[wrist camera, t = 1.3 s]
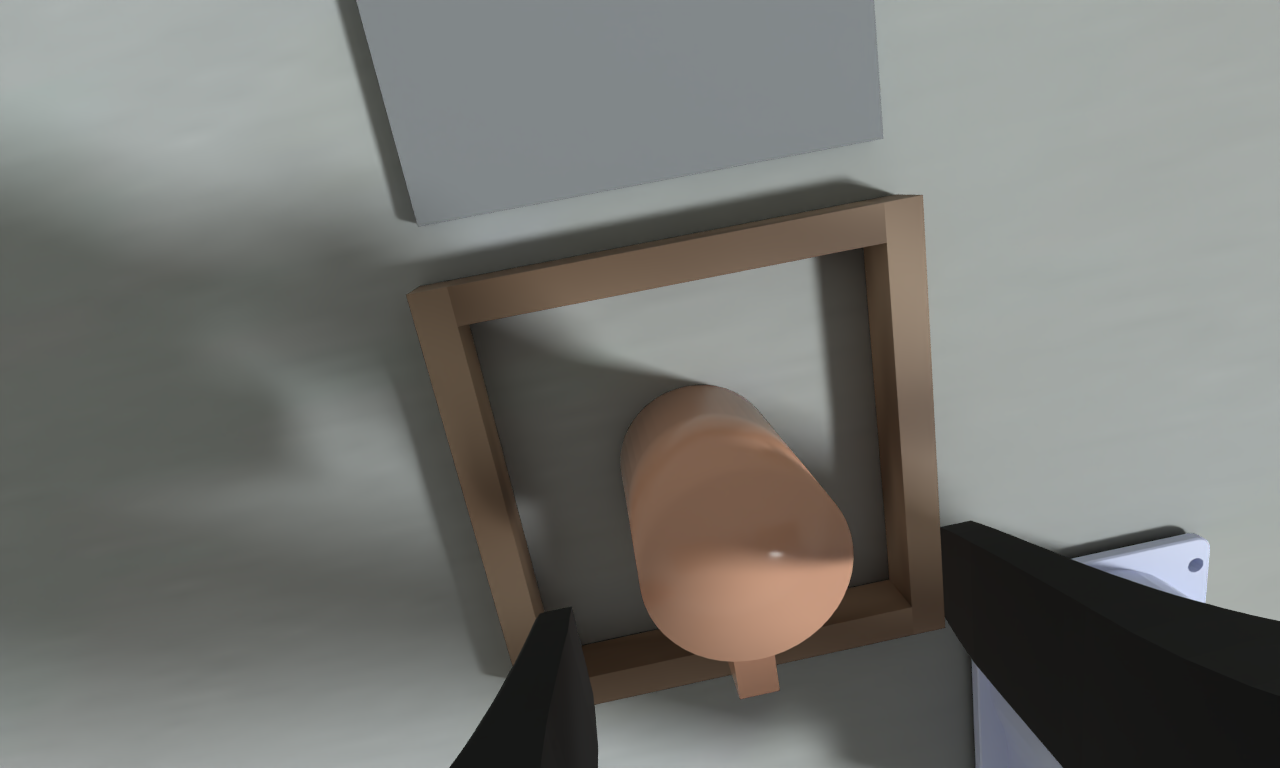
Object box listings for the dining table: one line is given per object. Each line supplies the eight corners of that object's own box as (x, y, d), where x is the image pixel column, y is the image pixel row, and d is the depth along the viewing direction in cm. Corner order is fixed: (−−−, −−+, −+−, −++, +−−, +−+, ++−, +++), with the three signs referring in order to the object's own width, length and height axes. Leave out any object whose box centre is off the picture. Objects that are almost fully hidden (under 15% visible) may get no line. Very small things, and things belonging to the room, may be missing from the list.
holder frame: (920, 599, 22) (945, 627, 20) (530, 683, 21) (527, 719, 20) (895, 194, 18) (922, 195, 17) (419, 286, 18) (406, 295, 16)
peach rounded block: (606, 402, 19) (620, 494, 13) (763, 370, 19) (843, 448, 13) (646, 595, 21) (673, 748, 15) (788, 564, 21) (868, 705, 15)
